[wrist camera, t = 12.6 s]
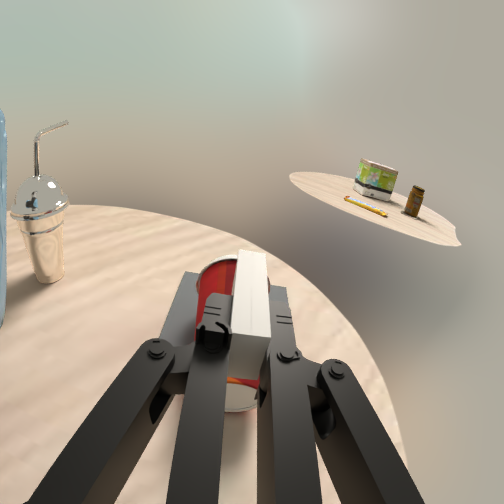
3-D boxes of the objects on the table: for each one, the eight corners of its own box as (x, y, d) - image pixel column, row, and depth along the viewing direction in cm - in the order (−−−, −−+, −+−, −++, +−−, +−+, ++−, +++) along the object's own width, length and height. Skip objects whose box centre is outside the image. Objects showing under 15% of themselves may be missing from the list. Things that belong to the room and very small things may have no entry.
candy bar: (341, 200, 94) (343, 195, 93) (345, 199, 97) (347, 194, 96) (384, 218, 85) (386, 213, 85) (387, 217, 88) (388, 212, 88)
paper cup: (282, 413, 21) (272, 300, 32) (275, 371, 16) (265, 245, 28) (193, 416, 21) (206, 307, 33) (159, 375, 17) (189, 255, 28)
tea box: (361, 195, 108) (371, 162, 102) (352, 188, 117) (360, 157, 110) (389, 202, 111) (399, 170, 104) (379, 195, 120) (387, 165, 113)
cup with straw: (20, 269, 30) (4, 129, 21) (69, 252, 37) (64, 119, 27) (31, 300, 26) (6, 131, 17) (89, 278, 33) (82, 120, 23)
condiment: (418, 217, 100) (427, 190, 95) (416, 220, 94) (426, 191, 89) (403, 210, 104) (411, 183, 98) (400, 213, 98) (409, 184, 92)
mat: (299, 399, 23) (300, 397, 23) (146, 378, 22) (145, 375, 22) (285, 289, 39) (285, 287, 39) (185, 273, 38) (185, 271, 38)
